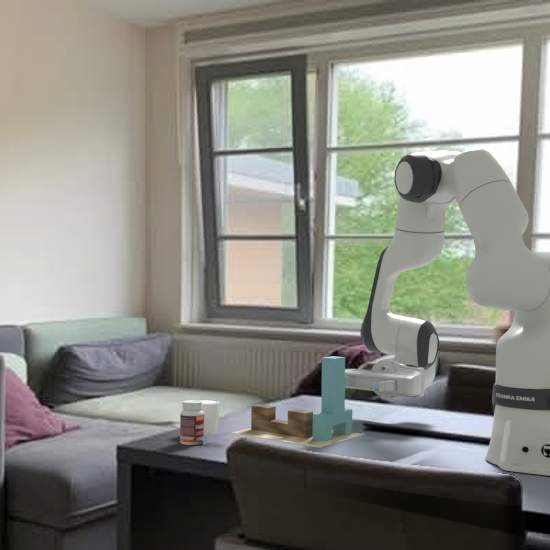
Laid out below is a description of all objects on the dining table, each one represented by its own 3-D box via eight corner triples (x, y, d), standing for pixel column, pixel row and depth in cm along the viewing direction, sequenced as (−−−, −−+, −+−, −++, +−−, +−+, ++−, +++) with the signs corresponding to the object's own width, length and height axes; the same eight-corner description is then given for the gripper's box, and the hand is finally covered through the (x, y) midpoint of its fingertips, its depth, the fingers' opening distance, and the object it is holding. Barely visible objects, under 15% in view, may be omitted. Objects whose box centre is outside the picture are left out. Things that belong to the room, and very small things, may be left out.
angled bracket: (351, 433, 162) (353, 356, 162) (325, 441, 154) (326, 359, 154) (339, 431, 164) (340, 355, 164) (312, 439, 156) (313, 358, 156)
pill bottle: (199, 446, 155) (200, 403, 155) (176, 444, 156) (177, 402, 156) (206, 441, 160) (207, 400, 160) (184, 440, 161) (184, 399, 161)
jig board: (366, 441, 162) (366, 409, 162) (319, 455, 148) (320, 421, 148) (280, 427, 175) (281, 398, 175) (231, 439, 161) (231, 408, 161)
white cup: (200, 430, 171) (200, 398, 171) (226, 433, 168) (227, 400, 168) (181, 435, 165) (181, 402, 165) (208, 439, 162) (208, 405, 162)
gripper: (351, 361, 184) (317, 366, 173) (430, 368, 171) (400, 373, 160) (350, 388, 184) (317, 394, 173) (430, 396, 171) (400, 404, 160)
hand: (358, 384), depth 166 cm, fingers open, 8 cm apart
